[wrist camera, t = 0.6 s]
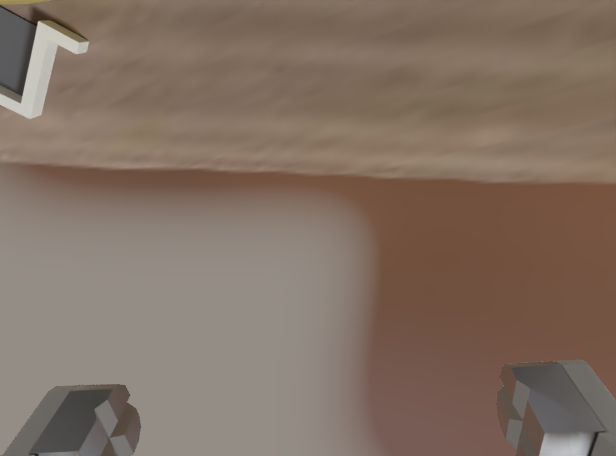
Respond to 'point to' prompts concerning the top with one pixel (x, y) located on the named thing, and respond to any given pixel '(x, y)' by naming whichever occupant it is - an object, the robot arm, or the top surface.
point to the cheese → (21, 1)
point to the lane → (30, 60)
